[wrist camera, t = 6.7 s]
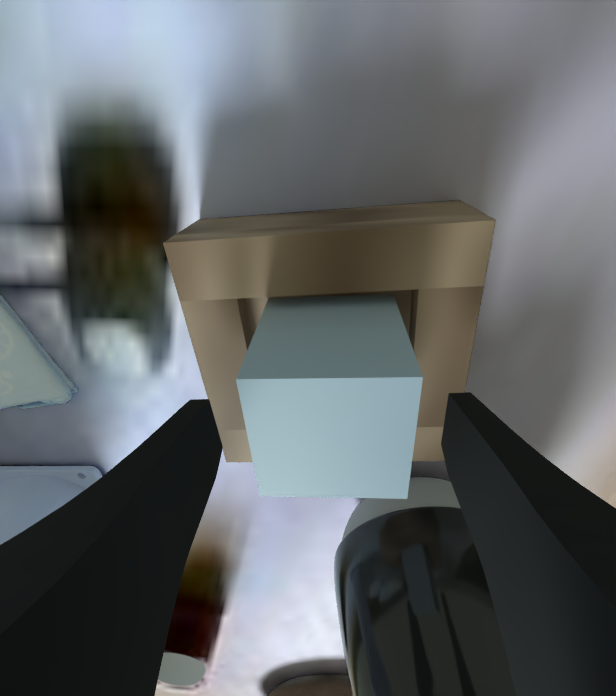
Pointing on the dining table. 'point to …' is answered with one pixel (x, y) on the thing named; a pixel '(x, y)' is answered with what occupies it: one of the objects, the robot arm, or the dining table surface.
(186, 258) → the square wooden tray
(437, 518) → the dark grey egg shape
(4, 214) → the dining table surface
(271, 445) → the blue block
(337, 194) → the dining table surface
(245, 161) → the dining table surface
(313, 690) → the plant saucer
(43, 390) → the paper napkin stack
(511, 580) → the robot arm
